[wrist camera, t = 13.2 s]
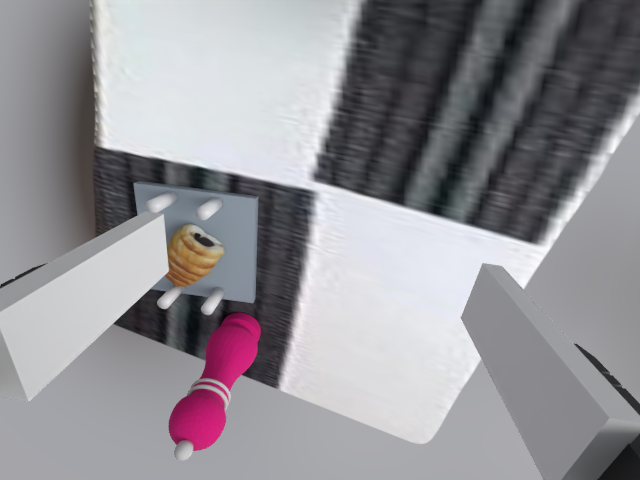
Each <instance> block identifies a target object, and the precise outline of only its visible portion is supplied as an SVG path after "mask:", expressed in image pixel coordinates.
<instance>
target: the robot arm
mask: <svg viewBox="0 0 640 480" xmlns="http://www.w3.org/2000/svg"><path fill="white" fill-rule="evenodd" d="M168 272H169V267H168V256H167V245H166V234H165V222H164V214H160V213H154V212H148V211H145V212H143V213H141V214H140V215H138V216H136V217H134V218H132V219H130V220H128V221H126V222H125V223H123V224H121V225H119V226H117V227H115V228H113V229H111V230H110V231H108V232H106V233H104V234H102V235H100V236H98V237H96V238H95V239H93V240H91V241H89V242H87V243H85V244H83V245H82V246H80V247H78V248H76V249H74V250H72V251H70V252H68V253H67V254H64V255H63V256H61V257H59V258H57V259H55V260H53V261H51V262H50V263H47V264H43V265H40V266H37V267H34V268H32V269H30V270H28V271H26V272H24V273H22V274H20V275H18V276H16V277H15V279H11V280H9V281H7V282H5V283H3V284H1V286H0V397H4V398H10V399H15V400H21V401H27V402H29V401H30V400H31V399H32V398H33V397H34V396H36V394H38V393H39V392H40V391H41V390H42V389H43V388H44V387H45V386H46V385H47V384H48V383H49V382H51V381H52V380H53V379H54V378H55V377H56V376H57V375H58V374H59V373H60V372H61V371H62V370H63V369H64V368H66V367H67V366H68V365H69V364H70V363H71V362H72V361H73V360H74V359H75V358H76V357H77V356H78V355H80V354H81V353H82V352H83V351H84V350H85V349H86V348H87V347H88V346H89V345H90V344H91V343H92V342H94V341H95V340H96V339H97V337H99V336H100V335H101V334H102V333H103V332H104V331H105V330H106V329H108V328H109V327H110V326H111V325H112V324H113V323H114V322H115V321H116V320H117V319H118V318H119V317H120V316H121V315H123V314H124V313H125V312H126V311H127V310H128V309H129V308H130V307H131V306H132V305H133V304H134V303H135V302H137V301H138V300H139V299H140V298H141V297H142V296H143V295H144V294H145V293H146V292H147V291H148V290H149V289H150V288H152V287H153V286H154V285H155V284H156V283H157V282H158V281H159V280H160V279H161V278H162V277H163V276H164V275H165V274H167V273H168ZM461 319H462V321H463V323H464V325H465V327H466V329H467V331H468V333H469V335H470V337H471V339H472V341H473V343H474V345H475V347H476V349H477V351H478V353H479V354H480V356H481V358H482V360H483V362H484V364H485V366H486V368H487V370H488V372H489V374H490V376H491V378H492V380H493V382H494V384H495V386H496V388H497V389H498V391H499V394H500V395H501V397H502V399H503V401H504V403H505V405H506V407H507V409H508V411H509V413H510V415H511V417H512V419H513V421H514V423H515V425H516V427H517V429H518V431H519V433H520V435H521V437H522V439H523V441H524V442H525V444H526V446H527V448H528V450H529V452H530V454H531V456H532V458H533V460H534V462H535V464H536V466H537V468H538V470H539V472H540V474H541V476H542V478H543V480H640V404H639V403H638V402H637V401H636V399H635V398H634V397H633V396H632V395H631V394H630V393H629V392H628V391H627V390H626V389H623V388H622V385H621V384H620V383H619V382H618V381H617V380H616V379H615V378H614V377H613V376H611V375H610V372H609V371H608V370H607V369H606V368H605V367H604V366H603V365H602V364H601V363H600V362H599V361H598V360H597V359H596V358H595V357H594V356H592V355H591V354H590V353H588V352H587V351H586V350H584V349H583V348H581V347H580V346H579V345H577V344H573V343H572V342H571V341H570V339H569V338H568V337H567V336H566V335H565V334H564V333H563V332H562V331H561V330H560V329H559V328H558V326H557V325H556V324H555V323H554V322H553V321H552V320H551V319H550V318H549V317H548V316H547V315H546V313H545V312H544V311H543V310H542V309H541V308H540V307H539V306H538V305H537V304H536V303H535V302H534V301H533V299H532V298H531V297H530V296H529V295H528V294H527V293H526V292H525V291H524V290H523V289H522V287H521V286H520V285H519V284H518V283H517V282H516V281H515V280H514V279H513V278H512V277H511V276H510V274H509V273H508V272H507V271H506V270H505V269H504V268H503V267H502V266H497V265H491V264H484V263H483V264H482V266H481V269H480V271H479V274H478V276H477V279H476V281H475V284H474V286H473V289H472V291H471V294H470V296H469V299H468V301H467V304H466V306H465V309H464V311H463V314H462V316H461Z"/></svg>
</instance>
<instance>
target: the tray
mask: <svg viewBox="0 0 640 480" xmlns="http://www.w3.org/2000/svg"><path fill="white" fill-rule="evenodd" d="M133 184H134V191H135V199H136V206H137V214H138V215H140V214H141V213H143V212H145V211H148V212H154V213H160V214H164V222H165V234H166V245H168V243H169V242H170V240H171V237H172V236H173V234H174V233H175V231H177V230H179V229H180V228H182V226H184V225H188V224H192V225H196V226H198V227H199V228H201V229H202V230H203V231H204V232H205V233H206V234H209V235H211V236H212V237H215V238H216V239H217V240H218V241H220V242H221V243H222V245H223V248H224V250H225V252H224V255H223V256H221V257H220V259H219V260H218V262H217V263H216V265H215V266H214V267H213V268H212V270H211V272H210V274H208V275H206V276H204V277H202V278H201V279H200V280H199V281H197V282H195V283H194V284H192V285H189V286H186V287H176V286H175V285H174V284H173V283H172V282H171V281H170V280H168V279H167V278H166V277H165V275H164V276H163V277H162V278H161V279H160V280H159V281H158V282H157V283H156V284H155V285H154V286H153V287H152V288H150V289H155V290H162V291H167V292H166V293H165V294H164V295H163V296H162V297H161V298H160V299H159V300H158V301H157V304H158V306H159V307H160V308H162V309H167V308H168V307H169V306H170V305H171V304H172V303H173V301H174V300H175V299H176V298H177V297H178V296H179V295H180V294H181V293H184V294H191V295H198V296H205V297H209V298H208V299H207V300H206V302H205V303H204V304H203V306H202V307H201V311H202V312H203V313H204V314H206V315H210V314H212V313H213V311H214V310H215V308H216V307H217V305H218V304H219V302H220V300H221V299H227V300H234V301H241V302H249V303H253V302H254V300H255V289H256V255H257V221H258V196H252V195H244V194H236V193H229V192H221V191H213V190H205V189H197V188H189V187H182V186H174V185H166V184H158V183H150V182H143V181H138V182H135V183H133Z"/></svg>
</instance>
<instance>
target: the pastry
mask: <svg viewBox="0 0 640 480" xmlns="http://www.w3.org/2000/svg"><path fill="white" fill-rule="evenodd" d="M224 252H225V250H224V248H223V245H222V243H221V242H220V241H218V240H217V239H216V238H215V237H212V236H211V235H209V234H206V233H205V232H204V231H203V230H202V229H201V228H199V227H198V226H196V225H192V224H188V225H184V226H182V228H180V229H179V230H177V231H175V233H174V234H173V236H172V237H171V240H170V242H169V243H168V245H167V256H168V267H169V272H168V273H167V274H165V277H166V278H167V279H168V280H170V281H171V282H172V283H173V284H174V285H175V286H176V287H186V286H189V285H192V284H194V283H195V282H197V281H199V280H200V279H201V278H202V277H204V276H206V275H208V274H210V272H211V270H212V268H213V267H214V266H215V265H216V263H217V262H218V260H219V259H220V257H221V256H223V255H224Z"/></svg>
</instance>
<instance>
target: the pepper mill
mask: <svg viewBox="0 0 640 480" xmlns="http://www.w3.org/2000/svg"><path fill="white" fill-rule="evenodd" d="M260 334H261V328H260V325H259V323H258V322H257V321H256V319H254V318H253V317H252V316H250V315H248V314H245V313H233V314H230V315H228V316H227V317H226V318H225V319H224V321H223V322H222V324H221V326H220V328H218V329H216V330H215V331H214V332H213V333H212V335H211V336H210V338H209V341H208V343H207V347H206V364H205V369H204V371H203V374H202V376H201V378H200V379H199V380H197V381H195V382H194V383H193V385H192V386H191V389H190V390H189V391H188V393H187V396H186V397H184V398H183V399H181V400H180V401H179V402H178V403H177V405H176V406H175V408H174V409H173V411H172V414H171V416H170V419H169V433H170V436H171V438H172V440H173V441H174V442H175V443H176V444H177V446H176V448H175V451H174V454H175V457H176V459H177V460H180V461H184V460H186V459H188V458H189V457H190V456H191V454H192V452H193V451H196V450H202V449H206V448H207V447H209V446H211V445H212V444H213V443H215V441H216V440H217V439H218V438H219V436H220V435H221V433H222V431H223V429H224V426H225V423H226V415H225V411H226V409H227V407H228V403H229V402H230V399H231V395H230V389H231V387H232V385H233V383H234V382H235V380H236V379H237V378H238V377H239V376H240V375H241V374H243V373H244V372H245V371H246V370H247V369H248V368H249V367H250V365H251V364H252V363H253V361H254V359H255V357H256V355H257V350H258V346H257V342H258V340H259V337H260Z"/></svg>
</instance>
